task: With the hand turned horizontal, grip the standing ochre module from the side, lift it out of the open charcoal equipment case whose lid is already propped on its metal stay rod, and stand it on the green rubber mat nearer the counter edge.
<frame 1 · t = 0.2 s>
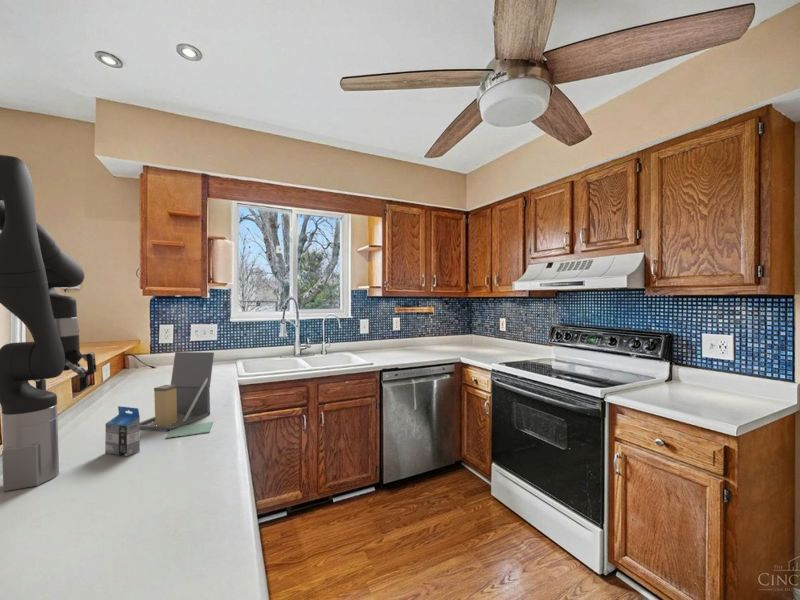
hand: (63, 391, 99), 18 cm above the countertop, tool pointing down, fingers open, 8 cm apart
label tape box: (123, 453, 100), on the countertop
case: (166, 423, 123), on the countertop
mat: (190, 430, 116), on the countertop
module: (166, 423, 123), resting in case
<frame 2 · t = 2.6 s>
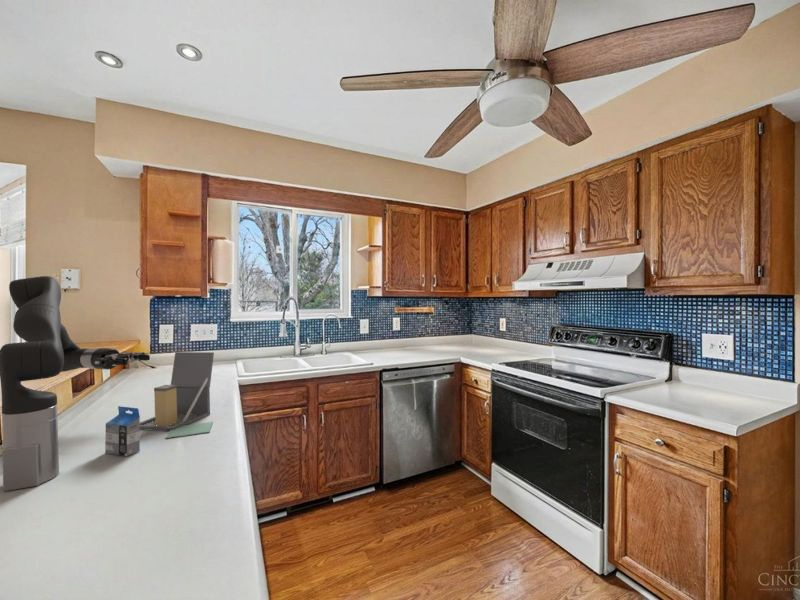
hand: (138, 359, 125), 22 cm above the countertop, tool horizontal, fingers open, 8 cm apart
nothing on the countertop moved.
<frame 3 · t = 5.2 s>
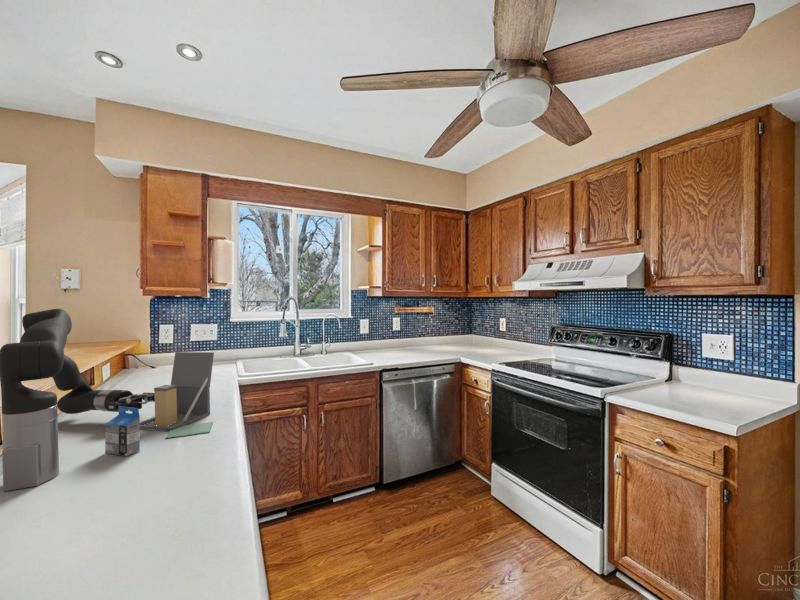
hand: (152, 401, 124), 7 cm above the countertop, tool horizontal, fingers open, 8 cm apart
nothing on the countertop moved.
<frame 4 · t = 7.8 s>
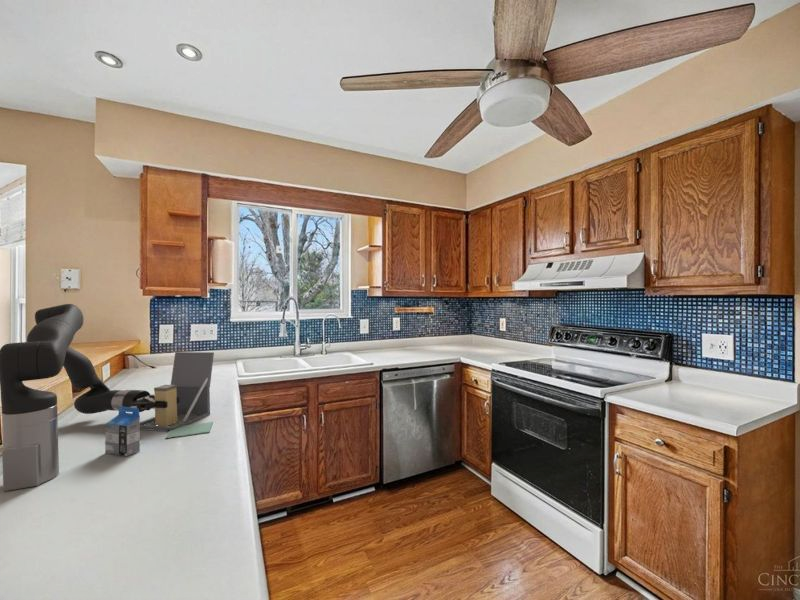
hand: (172, 402, 122), 8 cm above the countertop, tool horizontal, fingers closed on module, 4 cm apart
module: (166, 423, 123), resting in case, touching gripper
everything else where it was.
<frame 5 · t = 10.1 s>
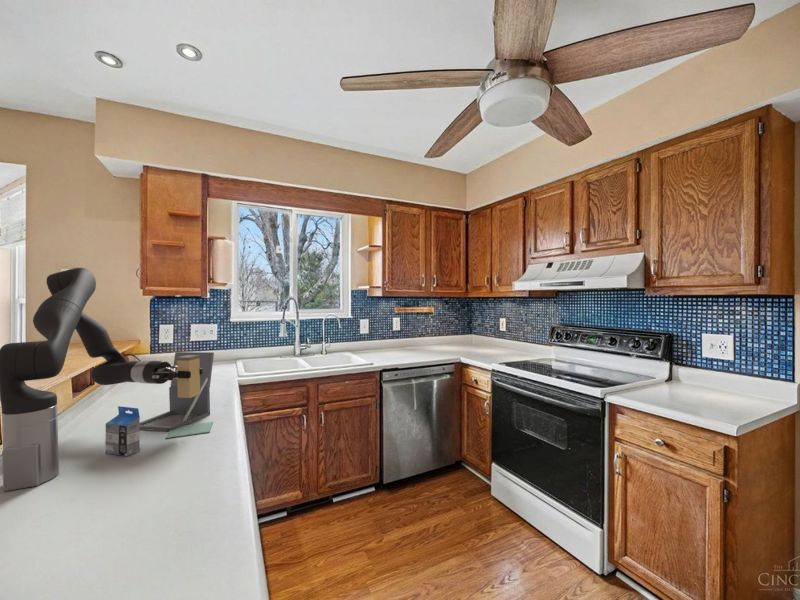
hand: (195, 373, 116), 19 cm above the countertop, tool horizontal, fingers closed on module, 4 cm apart
module: (189, 395, 116), point 11 cm above the countertop, touching gripper
everything else where it was.
when the fingers open (9 cm above the countertop, at t = 12.8 s): module stays where it is, resting on mat.
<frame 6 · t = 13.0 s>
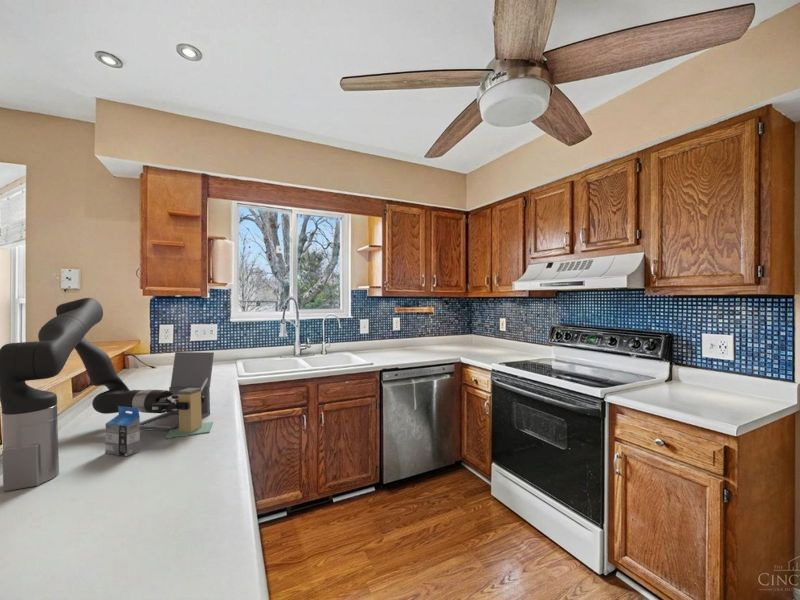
hand: (196, 402, 115), 9 cm above the countertop, tool horizontal, fingers open, 6 cm apart
module: (190, 429, 116), resting on mat
everything else where it was.
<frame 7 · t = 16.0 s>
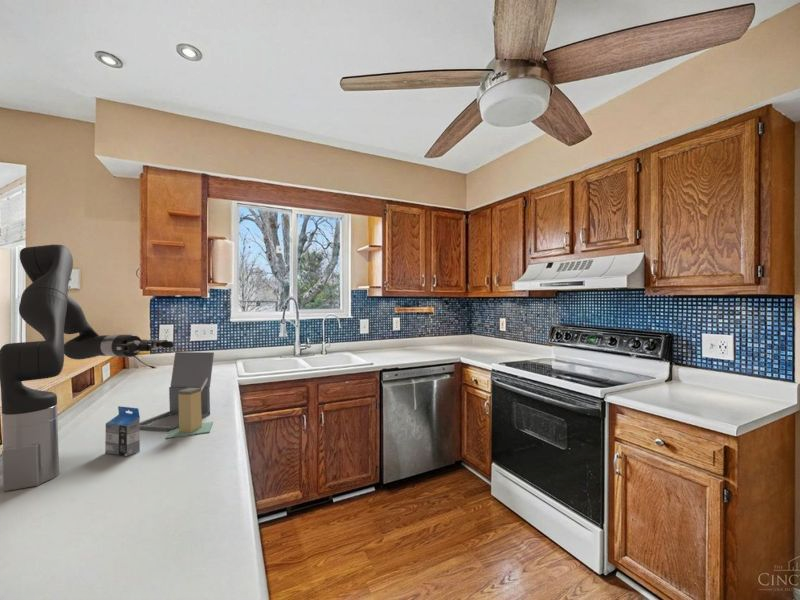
hand: (161, 346, 118), 28 cm above the countertop, tool horizontal, fingers open, 8 cm apart
nothing on the countertop moved.
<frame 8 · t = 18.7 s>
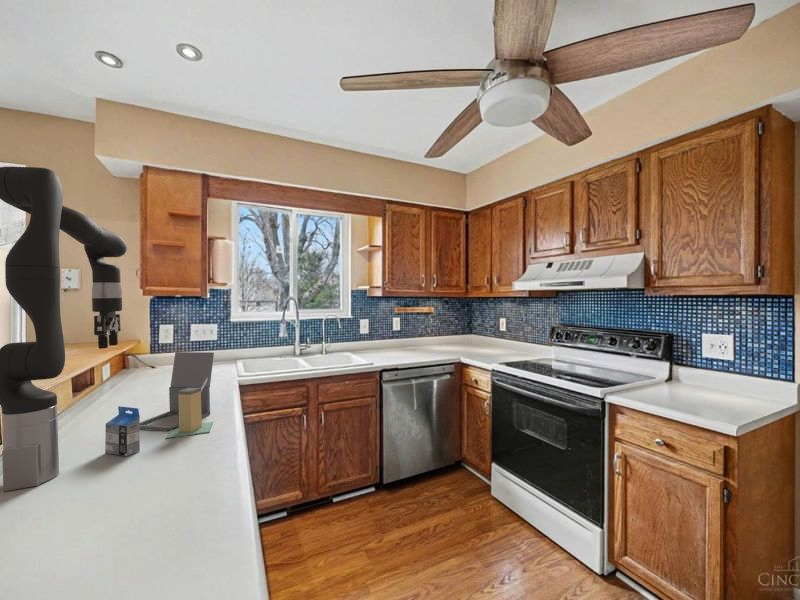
hand: (108, 346, 115), 28 cm above the countertop, tool pointing down, fingers open, 8 cm apart
nothing on the countertop moved.
at the end: module inside the target area on the mat (0.0 cm from its centre), point 0.4 cm above the mat's base; module tilted 0°; the gripper is holding nothing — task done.
